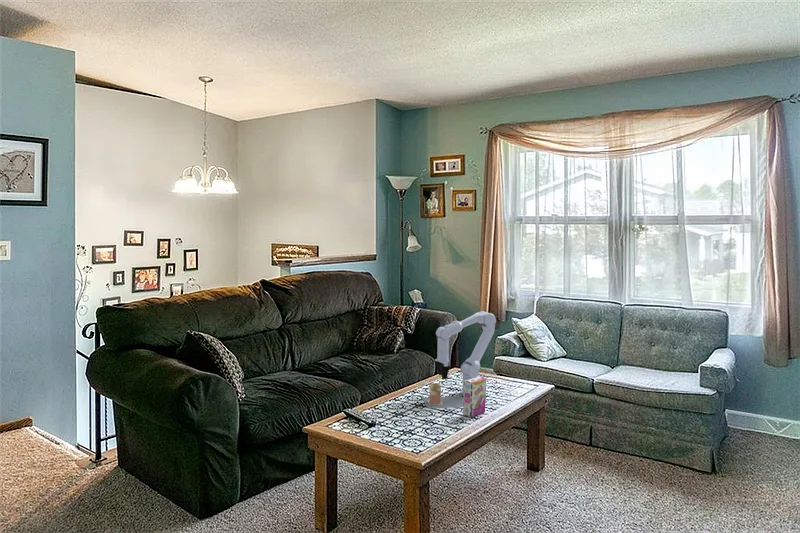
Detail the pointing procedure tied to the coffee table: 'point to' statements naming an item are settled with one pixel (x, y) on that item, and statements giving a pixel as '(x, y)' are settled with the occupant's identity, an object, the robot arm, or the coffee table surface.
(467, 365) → the robot arm
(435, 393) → the maple block
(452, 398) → the grey flat plate
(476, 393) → the candy bar box
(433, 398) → the brick-red base block
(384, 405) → the coffee table surface
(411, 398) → the coffee table surface
